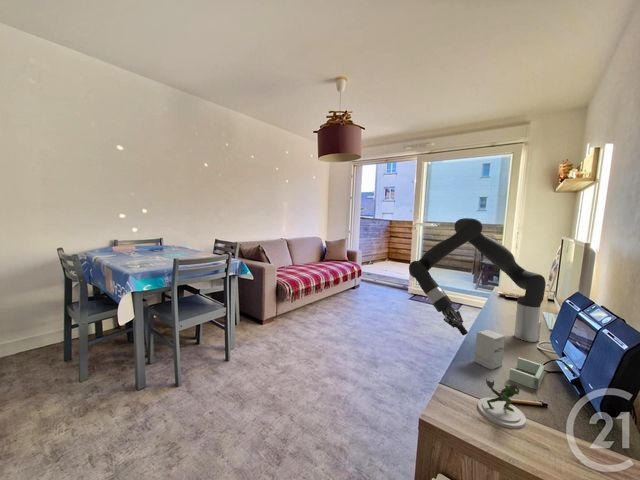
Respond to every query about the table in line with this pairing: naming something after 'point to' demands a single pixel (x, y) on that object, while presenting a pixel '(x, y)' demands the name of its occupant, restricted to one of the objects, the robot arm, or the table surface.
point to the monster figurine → (502, 407)
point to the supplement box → (489, 349)
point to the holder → (527, 378)
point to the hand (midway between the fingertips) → (465, 334)
